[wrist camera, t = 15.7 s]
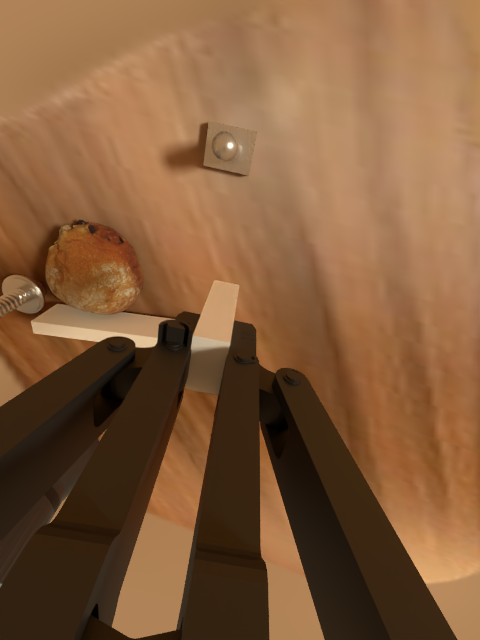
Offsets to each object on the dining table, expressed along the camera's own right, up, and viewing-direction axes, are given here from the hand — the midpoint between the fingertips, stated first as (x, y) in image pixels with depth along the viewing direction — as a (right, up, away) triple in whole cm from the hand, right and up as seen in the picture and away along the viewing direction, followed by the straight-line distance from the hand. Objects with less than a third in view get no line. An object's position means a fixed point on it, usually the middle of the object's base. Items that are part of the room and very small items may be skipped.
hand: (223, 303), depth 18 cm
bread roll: (-15, +5, +17) cm, 23 cm away
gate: (-13, -1, +18) cm, 22 cm away
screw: (-24, +3, +19) cm, 31 cm away
